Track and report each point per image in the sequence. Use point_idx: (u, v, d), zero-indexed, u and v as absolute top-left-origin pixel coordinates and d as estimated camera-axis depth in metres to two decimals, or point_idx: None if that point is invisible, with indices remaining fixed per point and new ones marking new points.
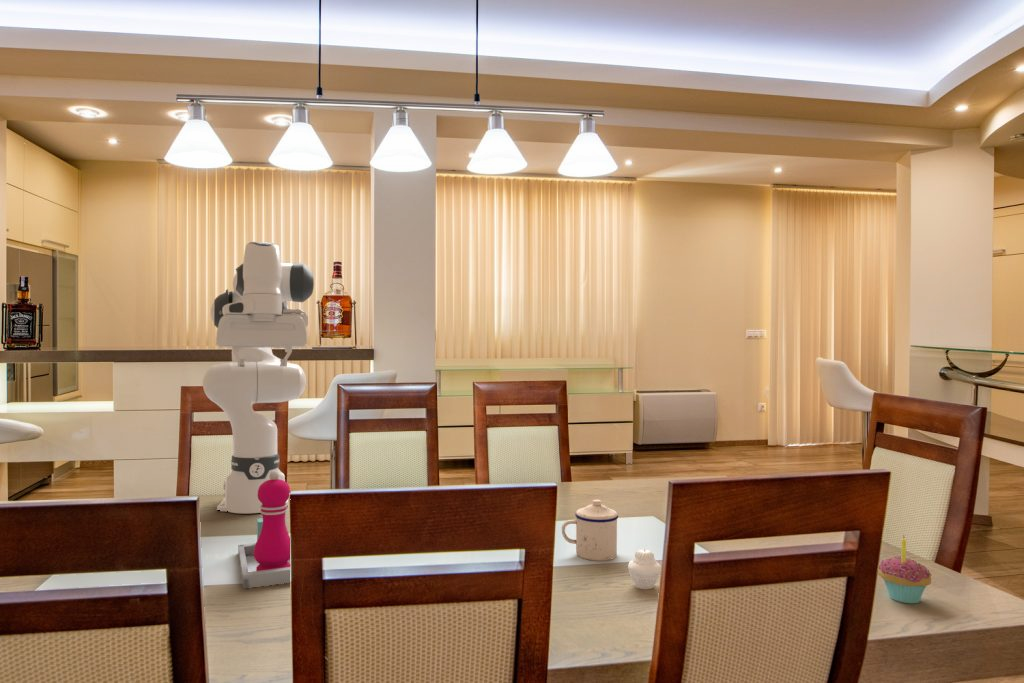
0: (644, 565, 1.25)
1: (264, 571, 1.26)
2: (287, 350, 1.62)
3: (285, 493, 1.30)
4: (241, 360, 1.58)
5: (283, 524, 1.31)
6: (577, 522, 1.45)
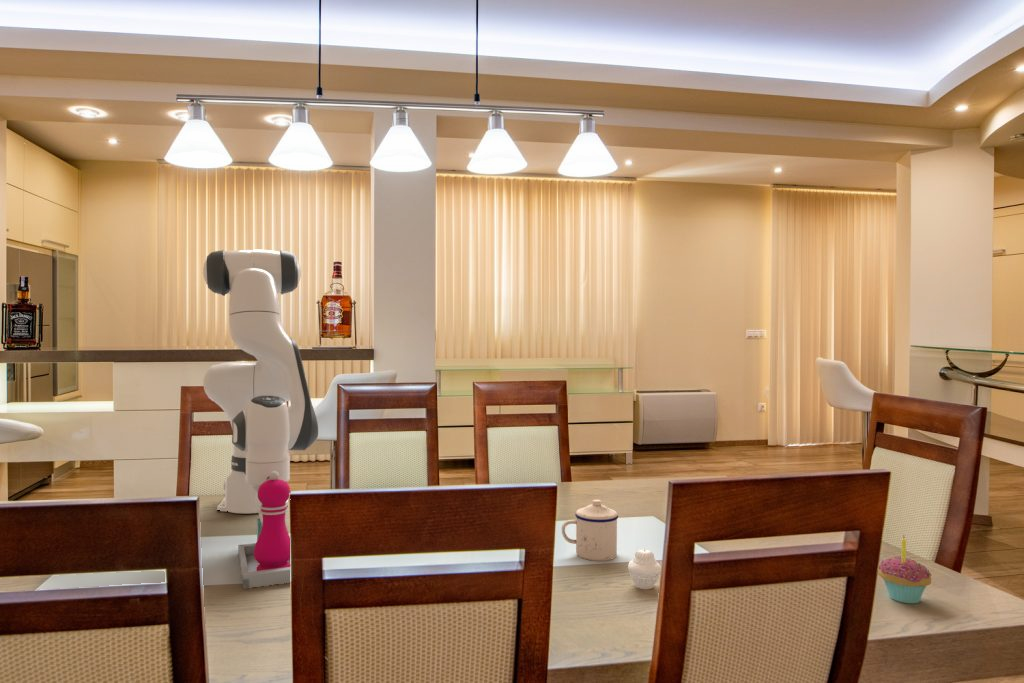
0: (644, 565, 1.25)
1: (264, 571, 1.26)
2: None
3: (285, 493, 1.30)
4: None
5: (283, 524, 1.31)
6: (577, 522, 1.45)
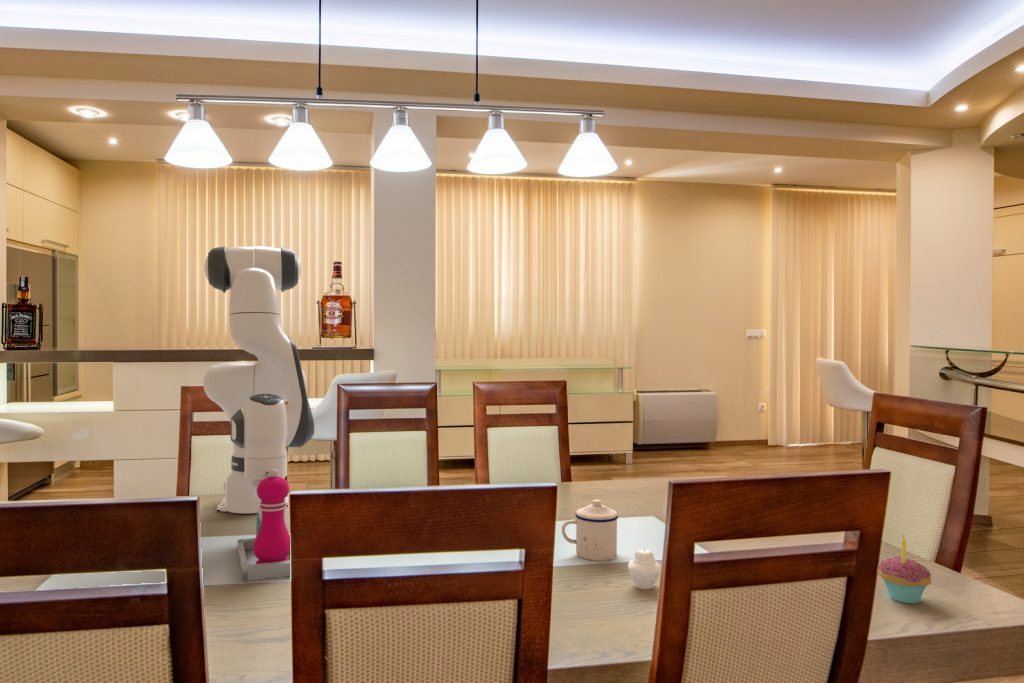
0: (644, 565, 1.25)
1: (262, 564, 1.30)
2: None
3: (284, 490, 1.33)
4: None
5: (282, 520, 1.34)
6: (577, 522, 1.45)
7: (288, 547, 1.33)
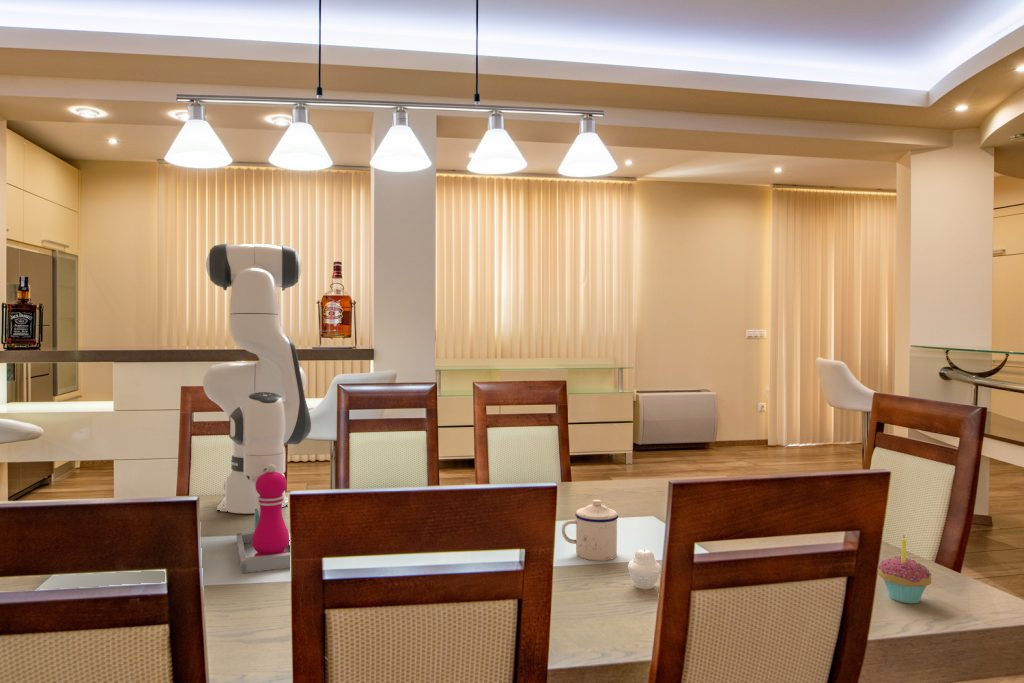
0: (644, 565, 1.25)
1: (261, 556, 1.34)
2: None
3: (281, 485, 1.37)
4: None
5: (280, 514, 1.38)
6: (577, 522, 1.45)
7: (285, 540, 1.38)
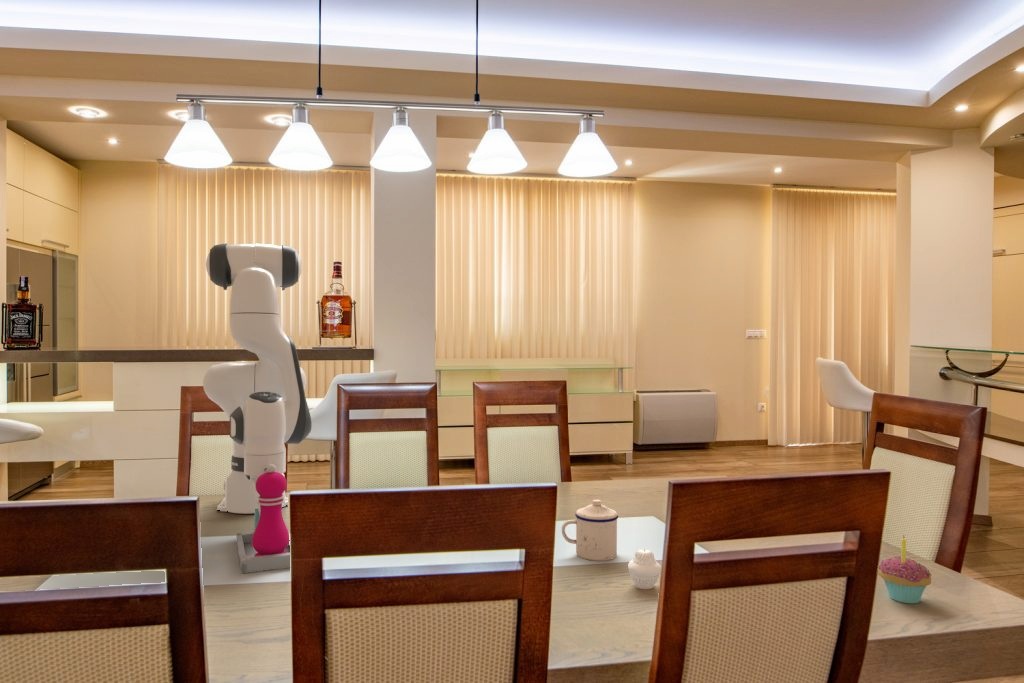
0: (644, 565, 1.25)
1: (261, 556, 1.34)
2: None
3: (281, 485, 1.37)
4: None
5: (280, 514, 1.38)
6: (577, 522, 1.45)
7: (285, 540, 1.38)
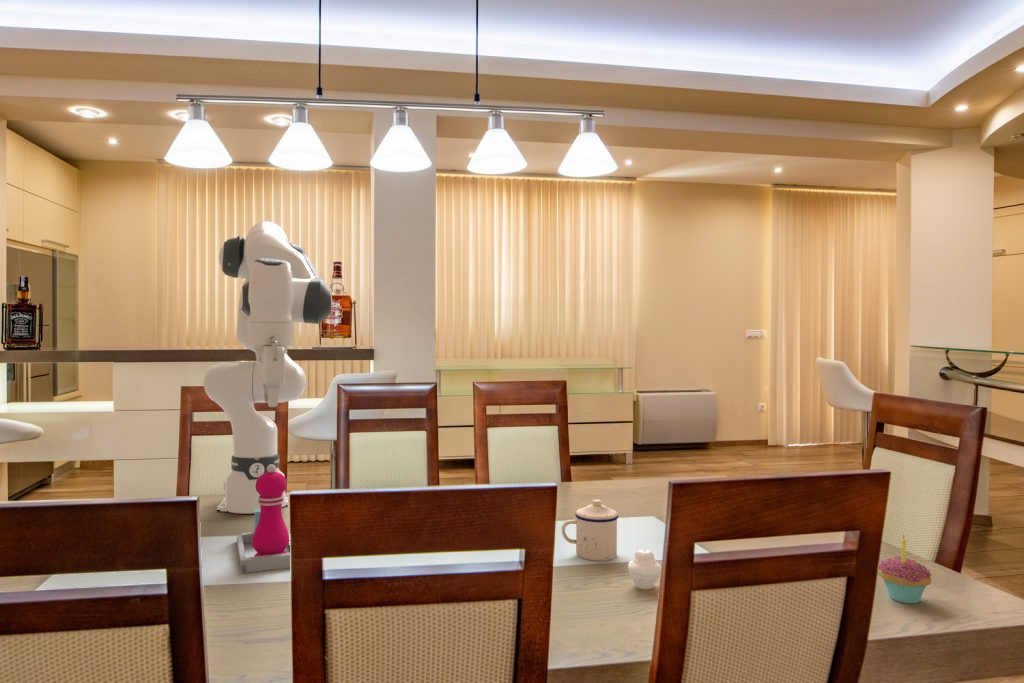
0: (644, 565, 1.25)
1: (261, 556, 1.34)
2: None
3: (281, 485, 1.37)
4: (265, 395, 1.44)
5: (280, 514, 1.38)
6: (577, 522, 1.45)
7: (285, 540, 1.38)
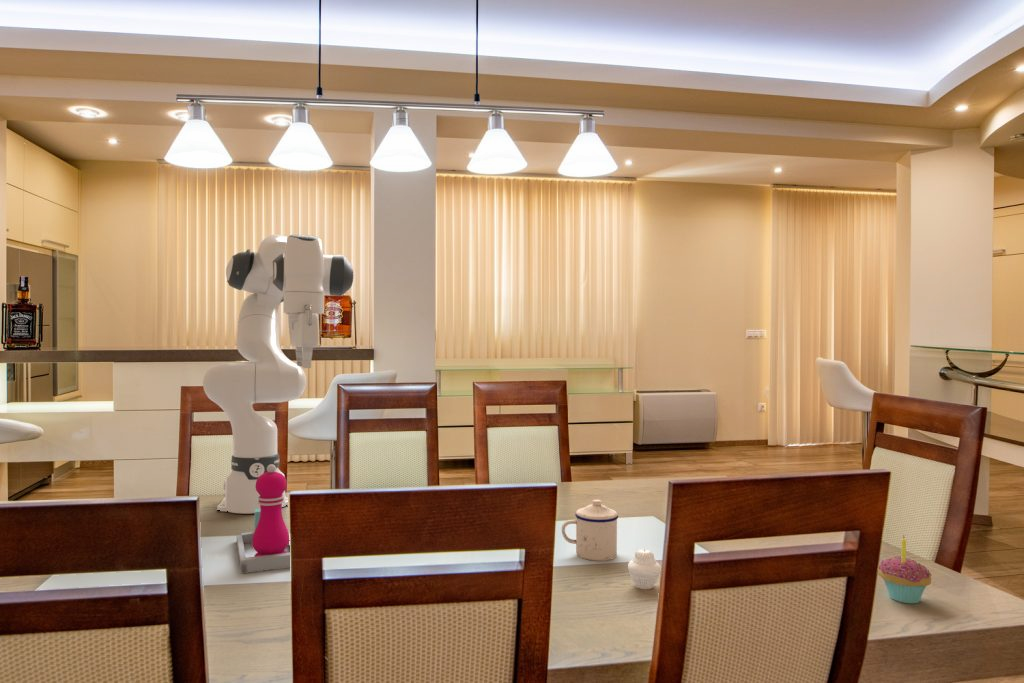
0: (644, 565, 1.25)
1: (261, 556, 1.34)
2: (302, 351, 1.48)
3: (281, 485, 1.37)
4: None
5: (280, 514, 1.38)
6: (577, 522, 1.45)
7: (285, 540, 1.38)
